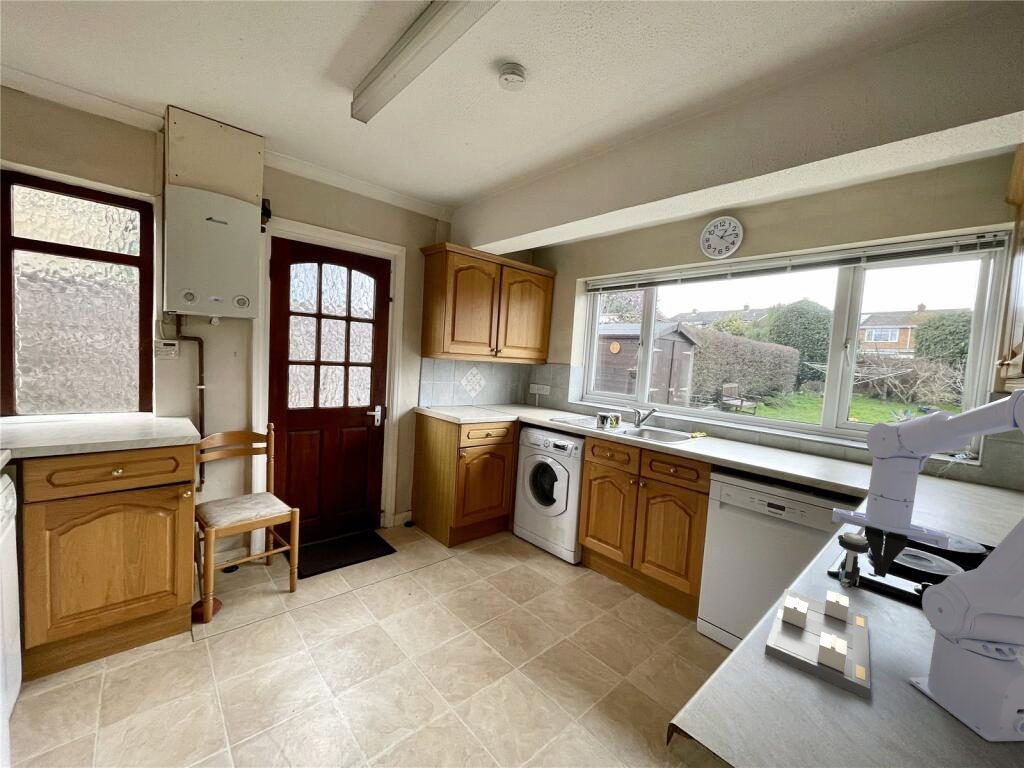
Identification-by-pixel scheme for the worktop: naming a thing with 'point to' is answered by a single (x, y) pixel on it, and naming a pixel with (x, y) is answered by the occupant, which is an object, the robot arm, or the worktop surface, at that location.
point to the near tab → (832, 651)
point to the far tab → (837, 605)
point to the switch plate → (804, 644)
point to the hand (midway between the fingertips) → (879, 574)
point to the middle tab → (795, 611)
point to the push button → (851, 557)
